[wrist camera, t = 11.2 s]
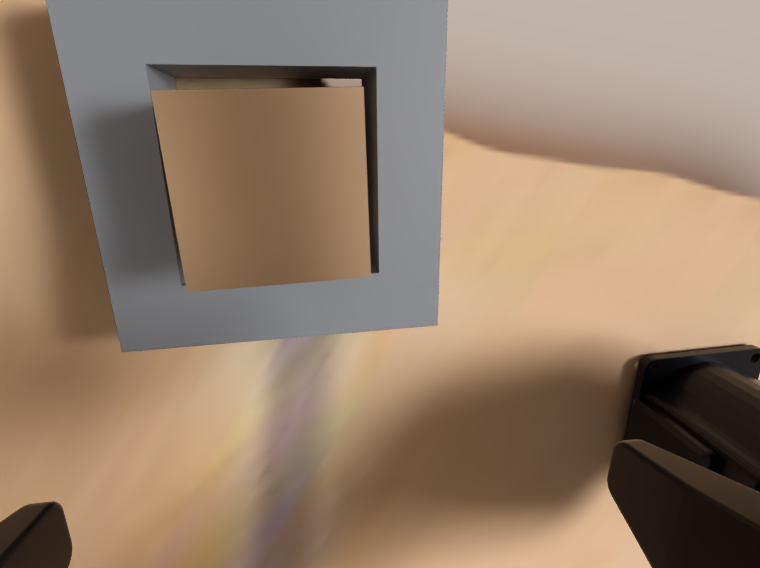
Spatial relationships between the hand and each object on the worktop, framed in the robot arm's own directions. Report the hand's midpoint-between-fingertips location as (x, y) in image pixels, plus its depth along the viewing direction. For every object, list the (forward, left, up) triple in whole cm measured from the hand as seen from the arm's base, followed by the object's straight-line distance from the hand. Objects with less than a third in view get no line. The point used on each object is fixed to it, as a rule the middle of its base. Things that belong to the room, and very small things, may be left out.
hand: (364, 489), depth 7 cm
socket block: (+1, -4, -11) cm, 12 cm away
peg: (+1, -4, -11) cm, 12 cm away
